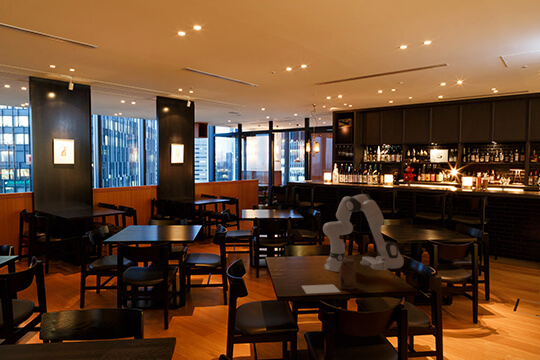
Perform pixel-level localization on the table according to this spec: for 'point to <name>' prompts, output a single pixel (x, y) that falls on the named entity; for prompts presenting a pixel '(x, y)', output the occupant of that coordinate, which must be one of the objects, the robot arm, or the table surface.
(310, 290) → the mat
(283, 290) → the table surface
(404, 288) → the table surface
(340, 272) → the block
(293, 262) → the table surface
